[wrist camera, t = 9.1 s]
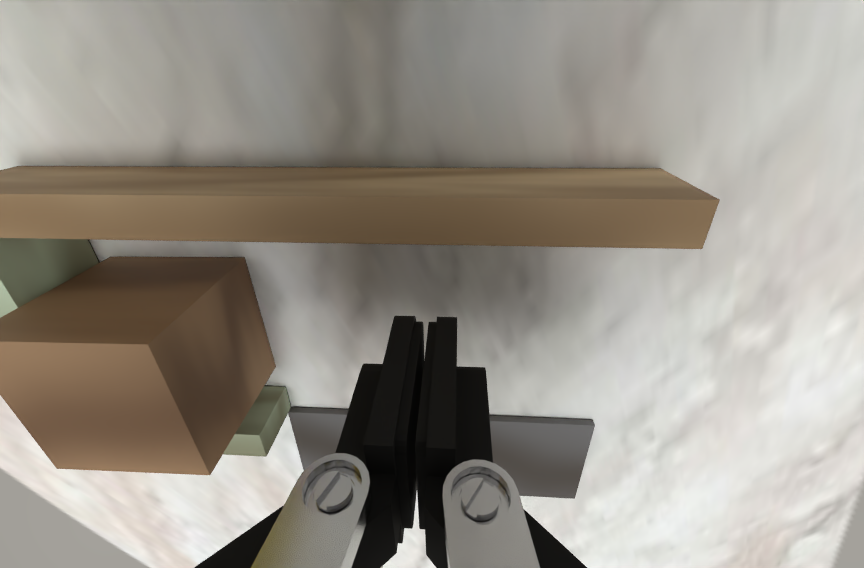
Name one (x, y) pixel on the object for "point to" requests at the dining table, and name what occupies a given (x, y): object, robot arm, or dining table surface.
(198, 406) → the block
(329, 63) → the dining table surface
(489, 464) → the robot arm
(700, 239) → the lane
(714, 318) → the dining table surface
